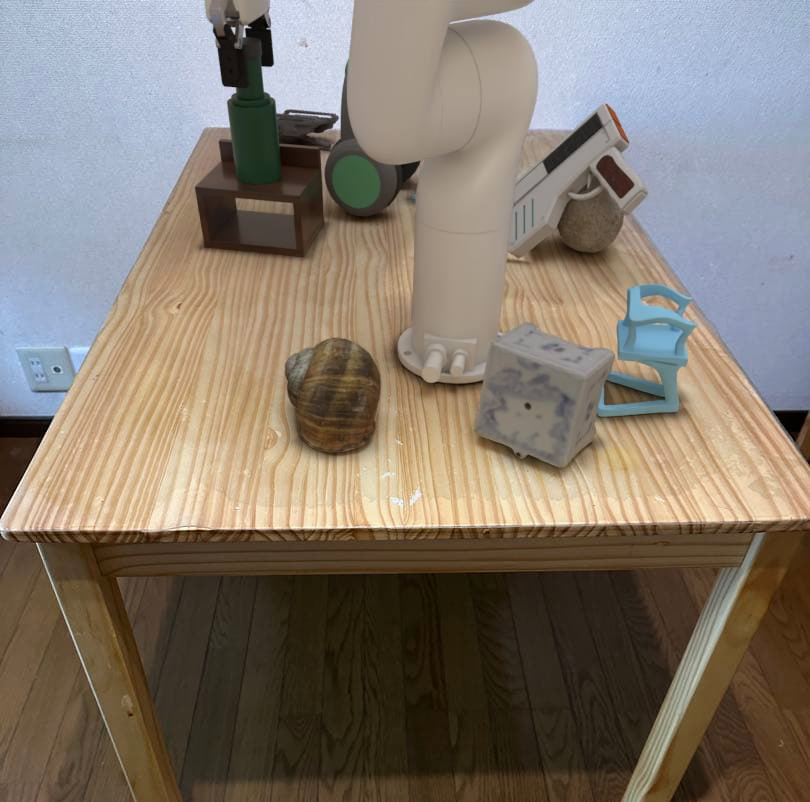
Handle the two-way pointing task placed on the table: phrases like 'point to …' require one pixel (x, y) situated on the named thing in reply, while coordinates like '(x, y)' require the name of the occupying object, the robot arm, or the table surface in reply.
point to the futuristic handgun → (574, 179)
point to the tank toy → (304, 126)
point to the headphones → (361, 172)
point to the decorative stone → (590, 221)
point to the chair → (651, 349)
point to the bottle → (254, 124)
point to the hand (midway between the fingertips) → (249, 75)
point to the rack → (262, 228)
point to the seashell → (334, 394)
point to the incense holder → (541, 394)
